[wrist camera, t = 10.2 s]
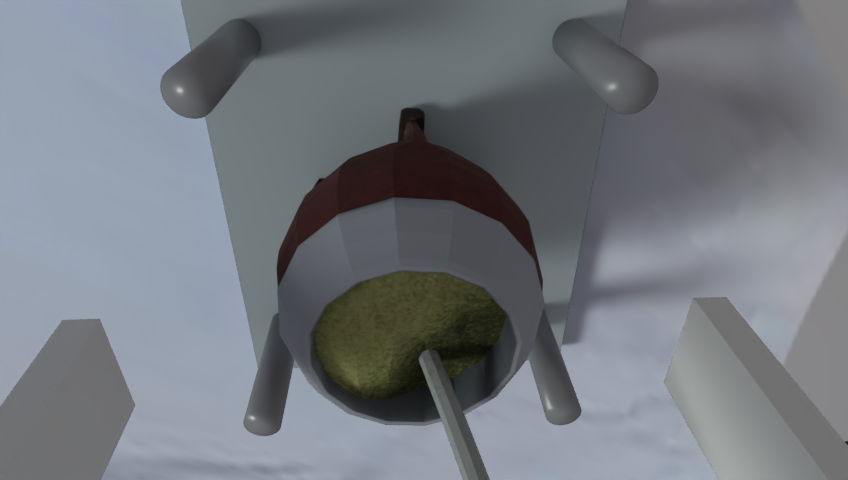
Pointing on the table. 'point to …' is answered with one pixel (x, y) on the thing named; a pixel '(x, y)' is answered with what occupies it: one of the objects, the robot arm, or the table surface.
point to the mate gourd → (410, 287)
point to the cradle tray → (379, 123)
